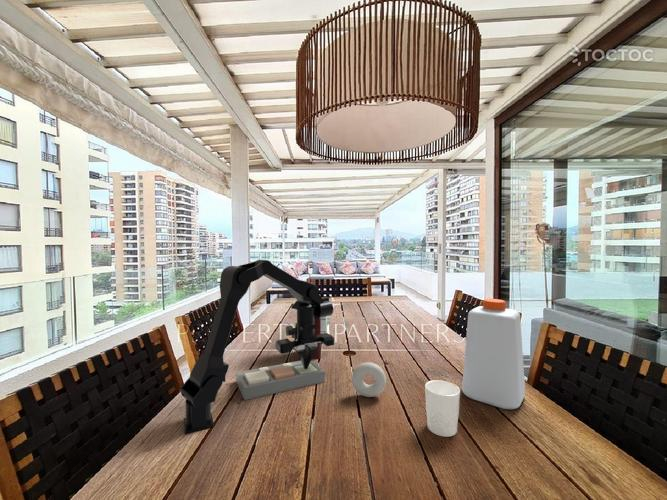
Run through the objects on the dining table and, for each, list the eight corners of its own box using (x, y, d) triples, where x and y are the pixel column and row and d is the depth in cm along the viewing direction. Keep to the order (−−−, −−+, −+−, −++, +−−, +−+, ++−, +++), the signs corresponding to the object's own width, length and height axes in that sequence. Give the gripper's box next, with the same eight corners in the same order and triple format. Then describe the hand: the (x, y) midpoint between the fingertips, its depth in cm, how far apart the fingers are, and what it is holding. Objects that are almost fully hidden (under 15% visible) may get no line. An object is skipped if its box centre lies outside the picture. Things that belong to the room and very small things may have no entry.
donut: (351, 398, 89) (351, 363, 88) (352, 392, 92) (352, 359, 92) (386, 400, 87) (386, 365, 87) (386, 394, 91) (386, 361, 90)
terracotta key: (294, 378, 96) (294, 372, 96) (275, 382, 93) (275, 375, 93) (288, 371, 101) (288, 365, 101) (270, 374, 99) (270, 368, 99)
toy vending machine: (297, 362, 116) (297, 287, 115) (297, 351, 127) (296, 283, 126) (321, 360, 117) (321, 287, 116) (318, 350, 128) (318, 283, 128)
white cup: (432, 415, 80) (432, 377, 80) (463, 427, 75) (464, 386, 74) (419, 429, 74) (419, 388, 73) (453, 443, 69) (453, 399, 68)
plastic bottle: (473, 379, 101) (474, 294, 101) (527, 393, 91) (528, 299, 91) (457, 396, 90) (458, 300, 89) (517, 415, 80) (518, 307, 79)
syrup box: (327, 343, 138) (327, 310, 138) (314, 342, 139) (314, 310, 139) (329, 339, 143) (329, 308, 143) (317, 338, 145) (317, 307, 144)
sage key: (317, 376, 100) (317, 370, 100) (300, 379, 97) (300, 373, 97) (310, 369, 105) (310, 363, 105) (293, 372, 102) (293, 366, 102)
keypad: (324, 382, 99) (324, 371, 99) (244, 400, 87) (244, 388, 87) (308, 367, 111) (308, 357, 111) (236, 381, 99) (236, 371, 99)
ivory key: (269, 383, 92) (269, 377, 92) (248, 388, 90) (248, 381, 90) (264, 376, 98) (264, 369, 98) (244, 379, 95) (244, 373, 95)
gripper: (321, 313, 112) (321, 355, 112) (270, 319, 103) (270, 365, 104) (335, 320, 102) (335, 366, 102) (280, 327, 94) (280, 377, 94)
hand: (305, 368), depth 101 cm, fingers closed, pressing on sage key
